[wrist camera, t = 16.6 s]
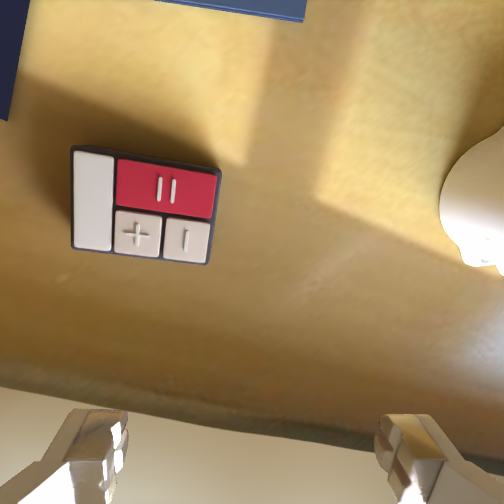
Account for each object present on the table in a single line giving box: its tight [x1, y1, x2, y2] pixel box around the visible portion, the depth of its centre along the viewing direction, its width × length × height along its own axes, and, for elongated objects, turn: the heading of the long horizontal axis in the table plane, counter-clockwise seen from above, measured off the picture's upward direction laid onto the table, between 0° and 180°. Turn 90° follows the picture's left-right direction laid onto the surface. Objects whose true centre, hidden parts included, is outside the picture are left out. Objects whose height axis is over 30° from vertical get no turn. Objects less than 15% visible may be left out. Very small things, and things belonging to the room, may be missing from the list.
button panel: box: [70, 145, 222, 265], centre depth 34 cm, size 11×4×15 cm
